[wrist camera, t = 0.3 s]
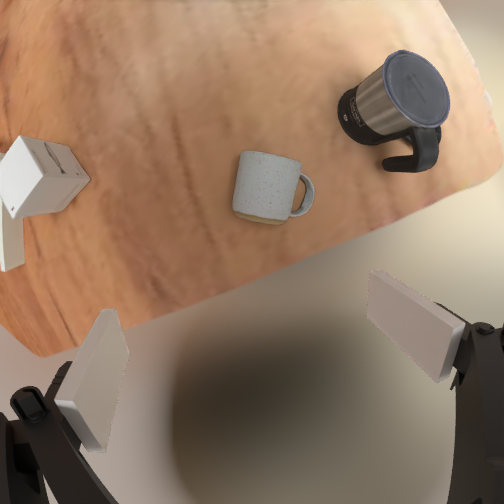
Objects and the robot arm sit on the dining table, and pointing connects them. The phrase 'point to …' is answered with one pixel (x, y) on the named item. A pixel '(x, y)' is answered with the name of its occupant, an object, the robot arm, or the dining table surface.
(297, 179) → the ceramic mug
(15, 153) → the supplement box
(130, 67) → the dining table surface
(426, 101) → the milk frother
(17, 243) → the tray
